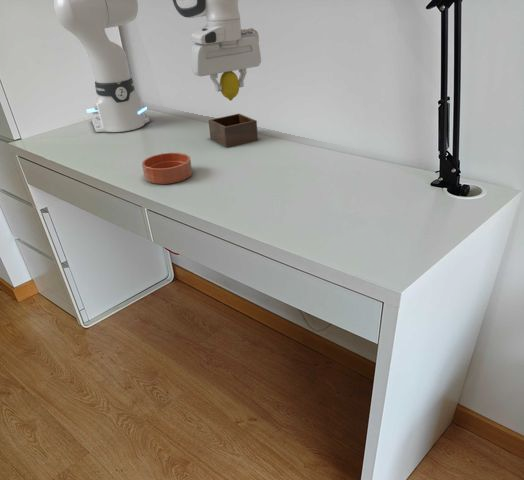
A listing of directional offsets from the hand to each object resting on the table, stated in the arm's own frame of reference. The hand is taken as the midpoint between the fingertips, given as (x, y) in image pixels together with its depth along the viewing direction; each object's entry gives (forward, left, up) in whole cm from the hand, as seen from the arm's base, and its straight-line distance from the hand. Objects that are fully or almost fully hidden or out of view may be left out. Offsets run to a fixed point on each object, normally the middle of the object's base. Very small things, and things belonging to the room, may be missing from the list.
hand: (229, 89), depth 142 cm
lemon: (0, 0, -3) cm, 3 cm away
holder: (0, 0, -14) cm, 14 cm away
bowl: (+16, -28, -14) cm, 35 cm away
